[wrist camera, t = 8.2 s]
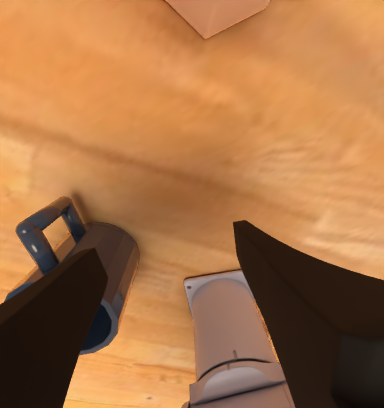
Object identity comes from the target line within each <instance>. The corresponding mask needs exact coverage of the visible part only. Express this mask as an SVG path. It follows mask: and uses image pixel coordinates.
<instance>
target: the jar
mask: <svg viewBox="0 0 384 408" xmlns="http://www.w3.org/2000/svg"><path fill="white" fill-rule="evenodd" d="M165 1H166V2H167V3H168V4H169V5H170V6H171V7H172V8H173V9H174V10H175V11H176V12H177V13H178V14H180V15H181V16H182V17H183V18H184V19H185V20H186V21H187V22H188V23H189V24H190V25H191V26H192V27H193V28H194V29H195V30H196V31H197V32H198V33H199V34H200V35H201V36H202V37H203V38H204V39H207V38H209V37H211V36H213V35H215V34H217V33H219V32H221V31H223V30H225V29H227V28H229V27H231V26H233V25H235V24H237V23H239V22H240V21H242V20H244V19H246V18H248V17H250V16H252V15H254V14H256V13H258V12H260V11H262V10H264V9H265V8H266V7H267V5H268V4H269V3H270V1H271V0H165Z"/></svg>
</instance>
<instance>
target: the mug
mask: <svg viewBox="0 0 384 408" xmlns="http://www.w3.org/2000/svg"><path fill="white" fill-rule="evenodd" d="M60 216H62V218H63V220H64V222H65V224H66V226H67V228H68V230H69V232H70V233H69V234H68V235H67V236H66V237H65V238H64V239H63V240H62V241H61V242H60V243H59V244H58V245H57V246H56V247H55V248H54V249H52V247H51V246H50V244H49V242H48V240H47V239H46V237H45V235H44V234H43V232H42V230H44V229H45V228H46V227H47V226H49V225H50V224H51V223H53V222H54V221H55V220H56V219H58V218H59V217H60ZM16 234H17V235H18V237H19V239H20V240H21V242H22V243H23V245H24V246H25V248H26V249H27V251H28V252H29V254H30V256H31V257H32V259H33V260H34V262H35V263H36V265H37V266H35V267H34V268H33V269H32V270H31V271H30V272H29V273H28V274H27V275H26V276H25V277H24V278H23V279H22V280H21V281H20V282H19V283H18V284H17V285H16V286H15V287H14V288H13V289H12V290H11V291H10V292H9V293H8V295H7V297H6V299H5V301H7V300H8V299H10V298H12V297H13V296H15V295H16V294H18V293H19V292H21V291H22V290H24V289H25V288H27V287H28V286H30V285H31V284H33V283H34V282H36V281H37V280H39V279H40V278H41V277H43V276H44V275H46V274H47V273H49V272H50V271H51V270H53V269H54V268H56V267H57V266H59V265H60V264H61V263H63V262H64V261H66V260H67V259H69V258H70V257H72V256H73V255H75V254H76V253H78V252H79V251H81V250H83V249H88V248H93V247H95V249H96V251H97V253H98V255H99V257H100V260H101V262H102V264H103V266H104V268H105V271H106V273H107V275H108V277H109V278H108V282H107V286H106V290H105V293H104V296H103V299H102V301H101V304H100V306H99V308H98V311H97V313H96V316H95V318H94V320H93V322H92V325H91V327H90V329H89V332H88V334H87V336H86V339H85V341H84V343H83V346H82V349H81V351H80V354H79V355H84V354H89V353H94V352H96V351H98V350H100V349H102V348H104V347H106V346H108V345H109V344H110V343H111V341H112V340H113V339H114V337H115V336H116V335H117V333H118V330H119V327H120V324H121V320H122V317H123V314H124V310H125V307H126V304H127V301H128V297H129V294H130V291H131V288H132V284H133V281H134V278H135V274H136V271H137V268H138V263H139V250H138V247H137V245H136V243H135V241H134V240H133V239H132V237H131V236H130V235H129V234H128V233H126V232H125V231H124V230H122V229H120V228H119V227H116V226H114V225H111V224H107V223H100V222H93V223H87V224H83V223H82V221H81V219H80V217H79V215H78V212H77V210H76V208H75V206H74V204H73V202H72V200H71V199H70V198H68V197H60V198H58V199H57V200H55V201H54V202H52V203H50V204H49V205H47V206H46V207H44V208H43V209H41V210H39V211H38V212H36V213H35V214H33V215H31V216H30V217H28V218H27V219H25V220H24V221H22V222H20V223H19V224H18V225H17V226H16ZM5 301H4V302H5Z"/></svg>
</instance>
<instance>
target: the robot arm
mask: <svg viewBox="0 0 384 408" xmlns="http://www.w3.org/2000/svg"><path fill="white" fill-rule="evenodd" d="M233 226H234V235H235V244H236V253H237V257H238V260H239V264H240V267H241V270H238V271H232V272H226V273H219V274H213V275H207V276H201V277H195V278H189V279H186V280H184V287H185V291H186V295H187V299H188V303H189V307H190V311H191V315H192V319H193V328H194V347H195V367H196V383H193V384H190V401H188V402H185V403H184V404H183V405H182V407H181V408H384V280H381V279H377V278H374V277H370V276H366V275H363V274H360V273H357V272H353V271H350V270H347V269H344V268H341V267H338V266H335V265H333V264H330V263H327V262H324V261H322V260H319V259H317V258H314V257H312V256H309V255H307V254H305V253H302V252H300V251H298V250H296V249H294V248H292V247H290V246H288V245H286V244H284V243H282V242H280V241H278V240H277V239H275V238H273V237H271V236H270V235H268V234H266V233H265V232H263V231H261V230H260V229H258V228H257V227H255V226H254V225H252V224H251V223H249V222H247V221H246V220H243V221H237V222H233ZM108 278H109V277H108V275H107V273H106V271H105V268H104V266H103V264H102V262H101V260H100V257H99V255H98V253H97V251H96V249H95V247H93V248H88V249H83V250H81V251H79V252H78V253H76V254H75V255H73V256H72V257H70V258H69V259H67V260H66V261H64V262H63V263H61V264H60V265H59V266H57V267H56V268H54V269H53V270H51V271H50V272H49V273H47V274H46V275H44V276H43V277H41V278H40V279H39V280H37V281H36V282H34V283H33V284H31V285H30V286H28V287H27V288H25V289H24V290H22V291H21V292H19V293H18V294H16V295H15V296H13V297H12V298H10V299H8V300H7V301H5V302H4V303H2V304H0V408H63V405H64V401H65V398H66V395H67V391H68V388H69V384H70V381H71V378H72V375H73V372H74V369H75V366H76V363H77V360H78V357H79V354H80V351H81V349H82V346H83V343H84V341H85V339H86V336H87V334H88V332H89V329H90V327H91V325H92V322H93V320H94V318H95V316H96V313H97V311H98V308H99V306H100V304H101V301H102V299H103V296H104V293H105V290H106V286H107V282H108ZM254 298H255V300H256V303H257V305H258V307H259V309H260V311H261V313H262V316H263V318H264V320H265V323H266V325H267V328H268V331H269V334H270V336H271V339H272V342H273V345H274V347H275V350H276V353H277V356H278V359H279V362H280V363H279V362H277V360H276V357H275V355H274V352H273V350H272V347H271V345H270V342H269V340H268V337H267V334H266V332H265V329H264V327H263V324H262V322H261V319H260V316H259V314H258V311H257V309H256V306H255V304H254ZM280 364H281V365H280ZM281 367H282V368H281Z"/></svg>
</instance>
